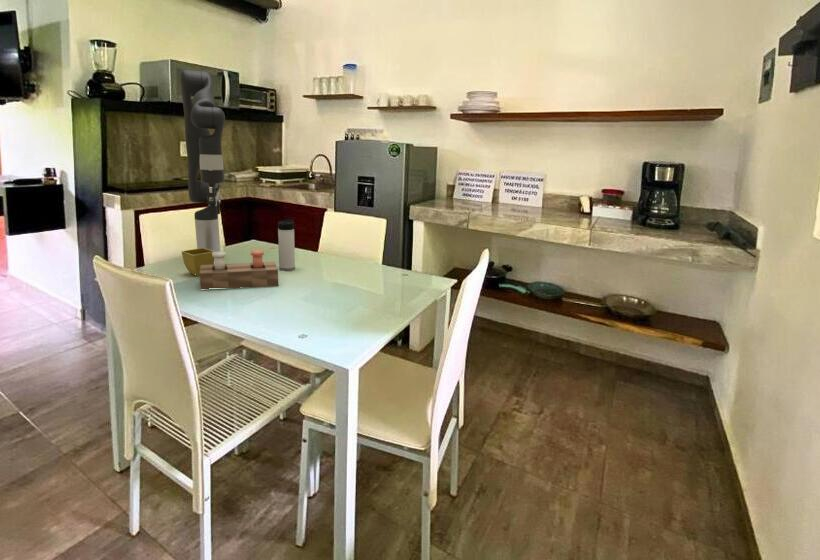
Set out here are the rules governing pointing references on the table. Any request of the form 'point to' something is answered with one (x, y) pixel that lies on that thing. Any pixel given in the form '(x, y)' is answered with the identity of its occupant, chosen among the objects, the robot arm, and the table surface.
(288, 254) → the travel mug
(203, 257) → the flower pot
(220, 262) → the grey plug
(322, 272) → the table surface
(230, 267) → the block
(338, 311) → the table surface
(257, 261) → the red plug
